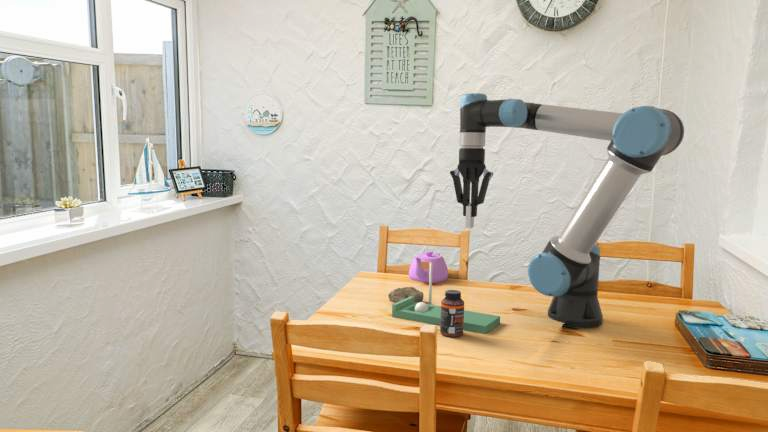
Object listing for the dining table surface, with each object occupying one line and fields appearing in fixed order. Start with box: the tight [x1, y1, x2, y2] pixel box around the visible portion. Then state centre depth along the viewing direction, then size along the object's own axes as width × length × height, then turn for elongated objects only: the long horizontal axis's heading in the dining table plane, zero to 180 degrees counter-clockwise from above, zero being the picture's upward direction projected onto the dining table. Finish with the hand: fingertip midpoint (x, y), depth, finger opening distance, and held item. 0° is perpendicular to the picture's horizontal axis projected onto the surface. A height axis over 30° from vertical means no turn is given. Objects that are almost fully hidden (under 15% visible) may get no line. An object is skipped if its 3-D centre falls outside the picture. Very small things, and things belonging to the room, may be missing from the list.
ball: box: [415, 301, 429, 313], centre depth 168 cm, size 4×4×4 cm
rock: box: [388, 286, 425, 304], centre depth 181 cm, size 8×11×4 cm
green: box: [391, 296, 501, 335], centre depth 165 cm, size 28×11×4 cm, turn 59°
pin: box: [421, 261, 433, 305], centre depth 174 cm, size 5×3×14 cm, turn 59°
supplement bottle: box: [439, 289, 465, 338], centre depth 152 cm, size 6×6×11 cm
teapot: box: [408, 250, 449, 284], centre depth 210 cm, size 13×20×11 cm
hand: (469, 227), depth 175 cm, fingers closed
